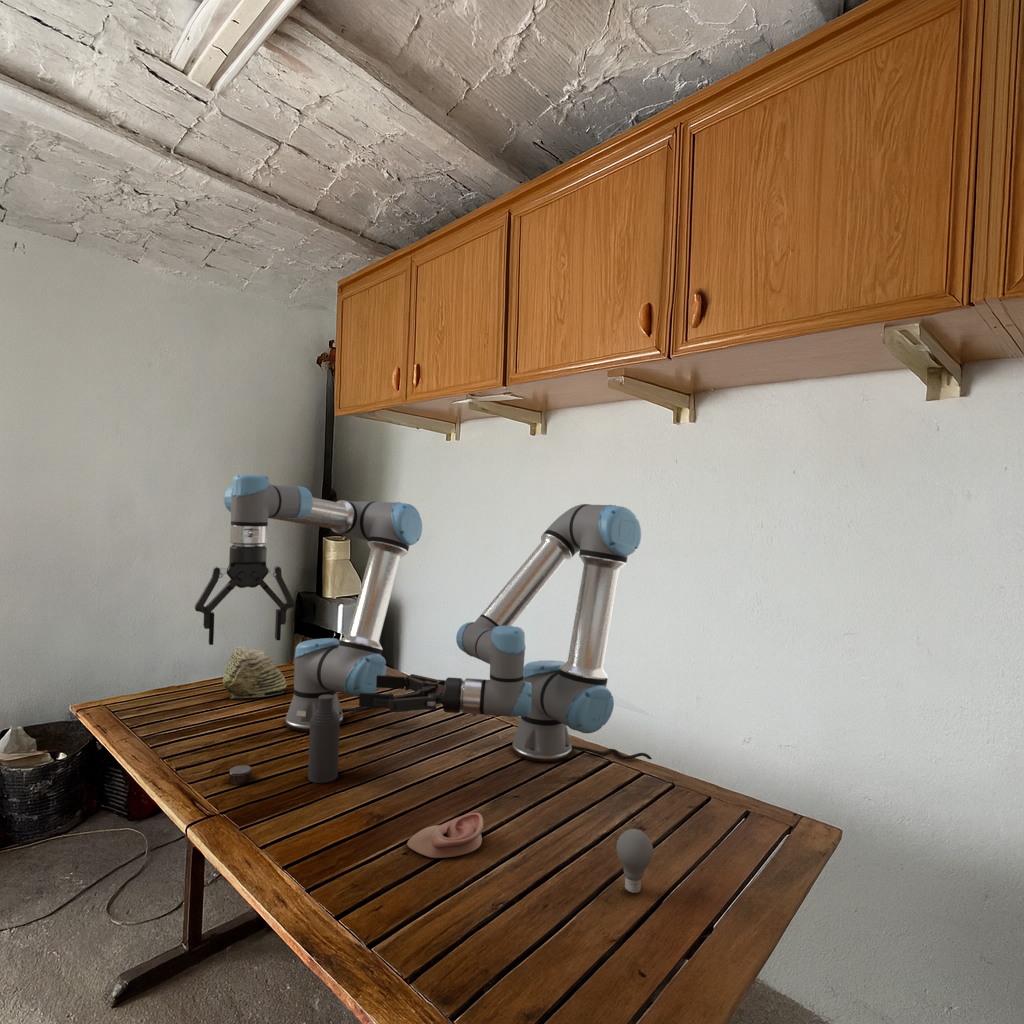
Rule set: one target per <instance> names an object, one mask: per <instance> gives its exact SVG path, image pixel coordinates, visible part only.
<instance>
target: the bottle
mask: <svg viewBox="0 0 1024 1024" xmlns="http://www.w3.org/2000/svg"><path fill="white" fill-rule="evenodd" d="M318 699H319V702H318V709H317V711H316V712H315V714H314V715H313V716H312V717H311V720H310V732H309V736H308V737H309V739H308V765H307V780H308V781H310V782H311V783H315V784H327V783H330V782H333V781H335V780H336V779H337V778H338V777H339V755H340V753H339V752H340V731H341V730H340V729H341V727H340V725H341V724H340V718H339V716H338V714H337V713H336V711H334V709H333V699H334V696H332V695H321V696H319V698H318Z"/></svg>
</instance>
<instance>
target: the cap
mask: <svg viewBox="0 0 1024 1024" xmlns="http://www.w3.org/2000/svg"><path fill="white" fill-rule="evenodd" d="M251 780H252V767H251V766H250V765H247V764H246V765H245V764H242V765H236V766H233V767H231V768H230V769H229V771H228V783H229V784H230V785H233V786H240V785H245V784H247V783H249V782H250V781H251Z"/></svg>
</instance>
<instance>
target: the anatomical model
mask: <svg viewBox="0 0 1024 1024" xmlns="http://www.w3.org/2000/svg"><path fill="white" fill-rule="evenodd" d="M483 829H484V819H483V815H482V814H481V813H480V812H471V813H467V814H464V815H461V816H458V817H455V818H453V819H451V820H448V821H446V822H444V823H442V824H437V825H431V826H427V827H425V828H423V829H421V830H419V831H418V832H416V833H415V834H414V835H412V836H411V837H410V838H409V839H408V840H407V843H406V846H407V847H408V848H409V849H411V850H412V851H414V852H416V853H417V854H420V855H423V856H424V857H428V858H430V859H444V858H453V857H459V856H463V855H467V854H469V853H471V852H474V851H476V850H477V849H478V848H480V847H481V845H482V842H483V837H482V831H483Z"/></svg>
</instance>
